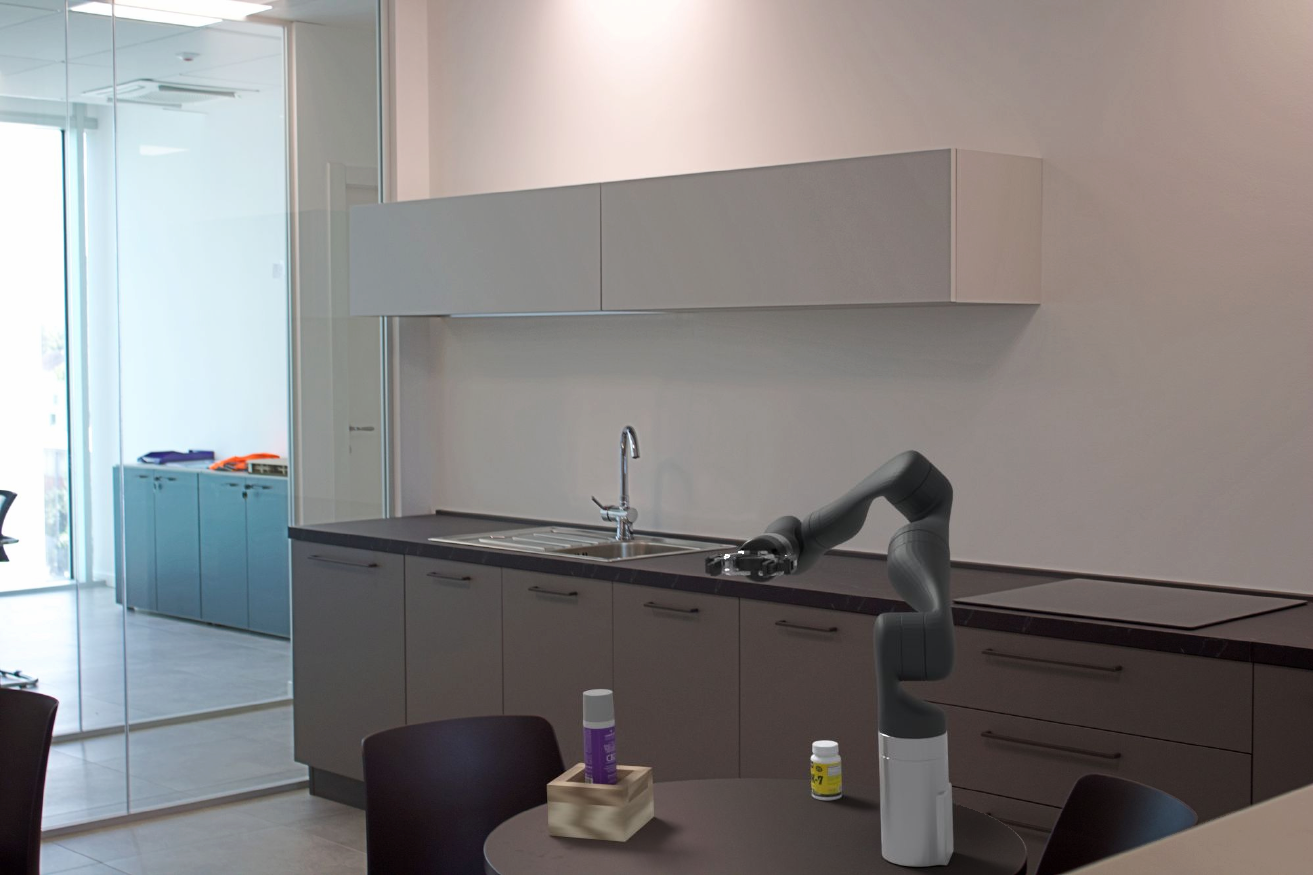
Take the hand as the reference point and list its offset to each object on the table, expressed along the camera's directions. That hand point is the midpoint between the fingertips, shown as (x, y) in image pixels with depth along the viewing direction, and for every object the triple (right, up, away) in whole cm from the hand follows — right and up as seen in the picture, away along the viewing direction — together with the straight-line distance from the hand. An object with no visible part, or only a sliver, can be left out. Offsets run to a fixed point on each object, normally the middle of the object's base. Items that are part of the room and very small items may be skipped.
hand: (738, 570), depth 216 cm
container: (-21, -32, -10) cm, 40 cm away
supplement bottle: (+14, -36, +1) cm, 38 cm away
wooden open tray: (-21, -37, -10) cm, 44 cm away
